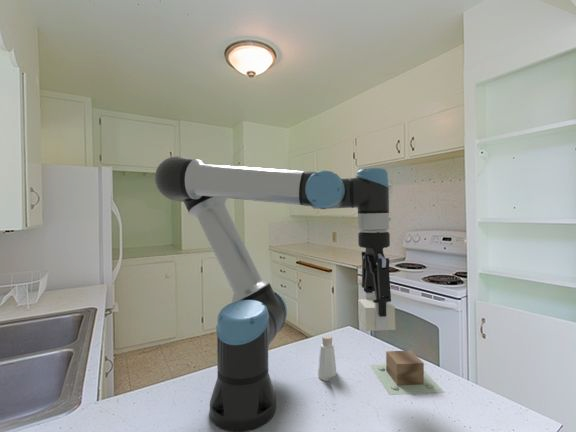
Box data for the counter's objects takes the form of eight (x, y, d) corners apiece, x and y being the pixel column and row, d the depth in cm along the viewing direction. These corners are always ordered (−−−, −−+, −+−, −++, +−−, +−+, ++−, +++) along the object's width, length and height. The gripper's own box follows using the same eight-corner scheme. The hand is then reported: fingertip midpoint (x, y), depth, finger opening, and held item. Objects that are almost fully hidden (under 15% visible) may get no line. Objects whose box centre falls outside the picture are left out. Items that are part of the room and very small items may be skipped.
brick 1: (366, 330, 71) (365, 307, 71) (358, 320, 78) (358, 299, 78) (395, 329, 71) (394, 306, 71) (385, 319, 78) (384, 298, 78)
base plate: (389, 398, 72) (389, 393, 72) (369, 368, 86) (369, 363, 86) (444, 396, 73) (444, 390, 73) (416, 366, 87) (416, 362, 87)
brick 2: (397, 385, 76) (397, 364, 76) (386, 370, 83) (386, 351, 83) (423, 384, 76) (423, 363, 76) (410, 370, 83) (410, 350, 83)
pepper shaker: (323, 383, 79) (323, 341, 79) (314, 373, 84) (313, 334, 84) (341, 379, 81) (341, 338, 81) (330, 369, 86) (330, 331, 86)
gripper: (405, 233, 64) (408, 339, 64) (375, 228, 84) (376, 309, 84) (371, 234, 64) (374, 340, 64) (348, 229, 84) (350, 310, 84)
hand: (375, 322), depth 74 cm, fingers closed on brick 1, 7 cm apart
